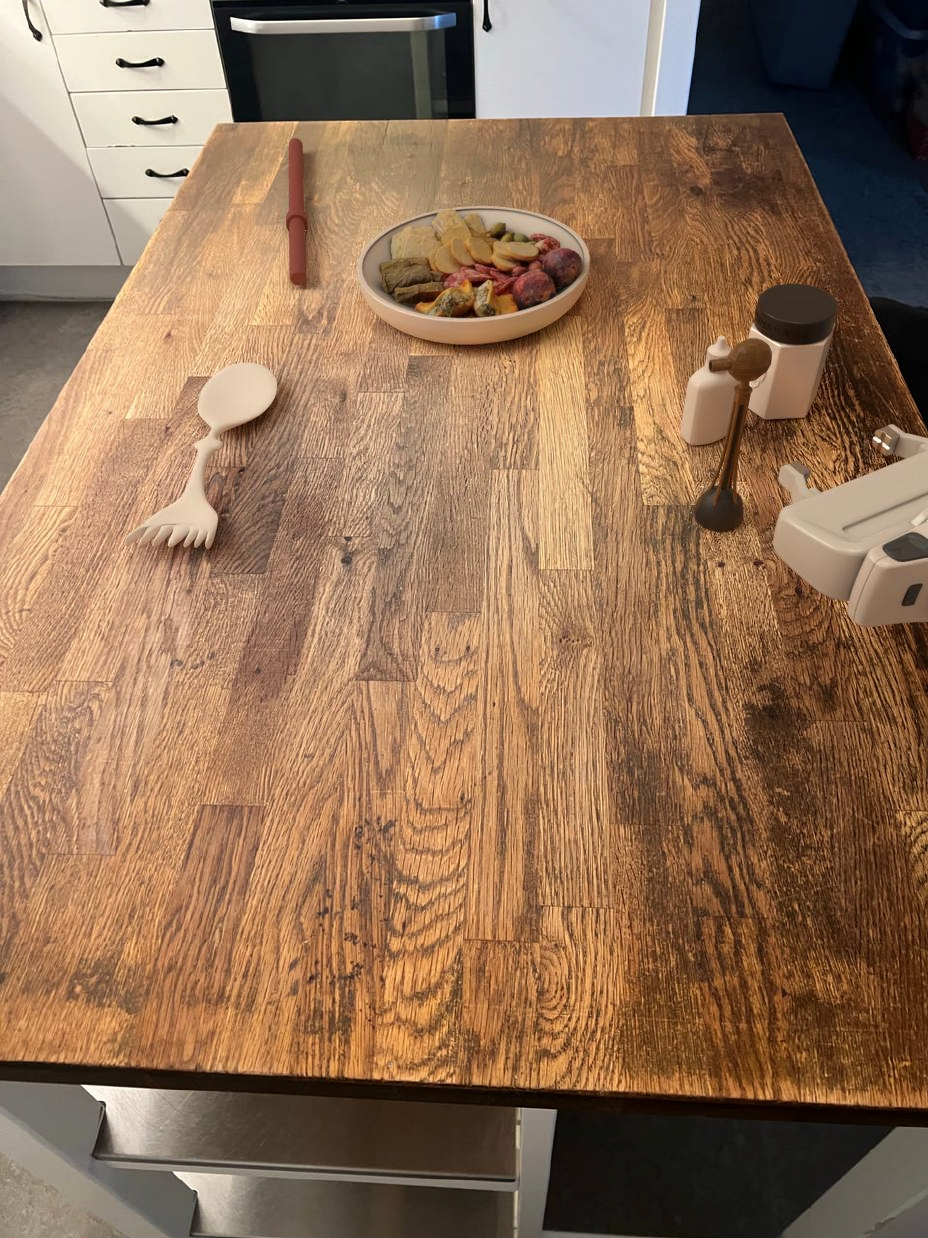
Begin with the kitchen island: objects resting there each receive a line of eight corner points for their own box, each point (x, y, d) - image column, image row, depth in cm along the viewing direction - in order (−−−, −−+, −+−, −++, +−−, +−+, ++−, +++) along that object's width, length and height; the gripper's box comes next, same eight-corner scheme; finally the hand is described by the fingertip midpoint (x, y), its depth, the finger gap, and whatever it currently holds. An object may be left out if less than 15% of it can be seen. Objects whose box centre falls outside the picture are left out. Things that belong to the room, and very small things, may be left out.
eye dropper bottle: (677, 422, 107) (691, 325, 98) (728, 422, 106) (747, 325, 98) (680, 446, 104) (695, 349, 95) (733, 447, 104) (753, 349, 95)
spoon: (130, 564, 96) (119, 539, 93) (215, 379, 117) (208, 354, 114) (217, 567, 95) (209, 542, 92) (288, 380, 116) (282, 355, 113)
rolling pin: (311, 288, 130) (307, 266, 128) (288, 290, 130) (284, 268, 128) (306, 153, 161) (303, 133, 158) (288, 155, 160) (284, 135, 158)
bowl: (325, 338, 122) (315, 280, 116) (409, 229, 141) (404, 175, 135) (553, 373, 114) (555, 313, 109) (610, 253, 133) (614, 196, 127)
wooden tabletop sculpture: (691, 536, 95) (722, 359, 80) (677, 505, 98) (705, 330, 83) (749, 528, 95) (791, 350, 80) (734, 497, 98) (771, 321, 83)
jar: (721, 392, 110) (738, 296, 101) (774, 368, 113) (795, 273, 104) (776, 431, 105) (799, 334, 96) (831, 405, 108) (858, 308, 99)
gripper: (1089, 476, 69) (946, 380, 78) (864, 574, 64) (737, 459, 72) (1053, 540, 74) (922, 442, 82) (841, 635, 69) (724, 521, 77)
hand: (834, 451), depth 77 cm, fingers open, 8 cm apart
